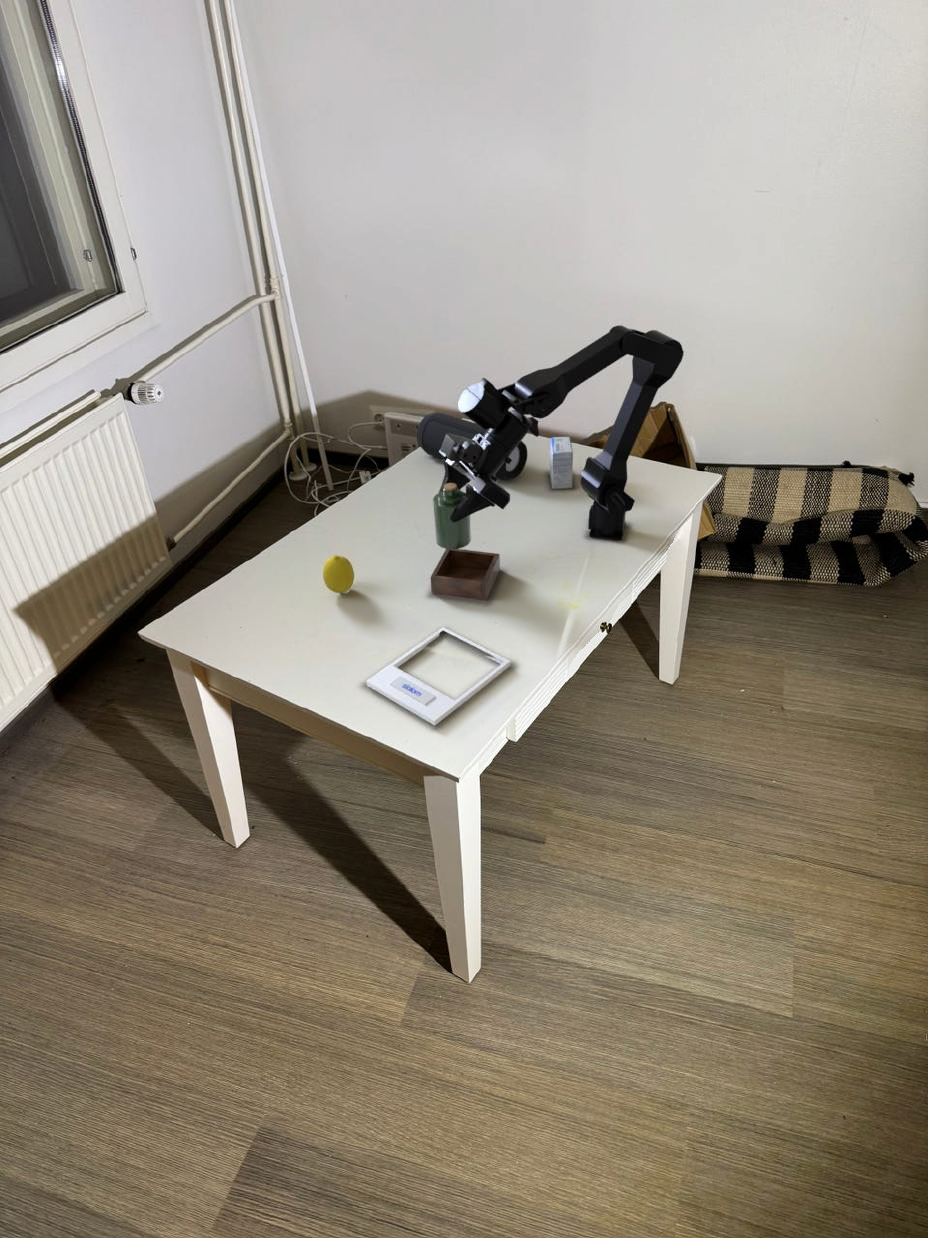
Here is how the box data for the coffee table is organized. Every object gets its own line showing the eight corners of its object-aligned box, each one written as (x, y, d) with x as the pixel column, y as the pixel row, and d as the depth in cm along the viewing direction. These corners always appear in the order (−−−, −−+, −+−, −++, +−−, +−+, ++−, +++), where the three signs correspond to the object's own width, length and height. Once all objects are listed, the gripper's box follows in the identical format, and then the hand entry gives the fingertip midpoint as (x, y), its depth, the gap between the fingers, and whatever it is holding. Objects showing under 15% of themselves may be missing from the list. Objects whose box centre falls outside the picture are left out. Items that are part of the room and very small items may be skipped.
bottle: (476, 534, 160) (474, 480, 154) (462, 551, 156) (459, 497, 149) (444, 528, 163) (441, 474, 156) (430, 545, 158) (425, 491, 151)
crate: (499, 571, 163) (499, 553, 161) (486, 602, 155) (485, 584, 153) (447, 565, 166) (446, 547, 163) (431, 595, 158) (430, 577, 155)
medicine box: (572, 489, 188) (573, 452, 183) (551, 489, 188) (552, 452, 183) (569, 472, 194) (570, 436, 189) (549, 472, 195) (549, 436, 189)
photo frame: (366, 680, 138) (442, 626, 148) (366, 685, 138) (443, 631, 149) (434, 720, 130) (510, 660, 140) (434, 725, 130) (510, 665, 141)
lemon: (351, 603, 157) (346, 565, 152) (321, 600, 158) (315, 563, 153) (360, 585, 161) (355, 548, 156) (331, 583, 162) (326, 546, 157)
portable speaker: (415, 459, 202) (412, 418, 196) (443, 443, 208) (441, 404, 202) (502, 489, 189) (502, 447, 183) (529, 472, 195) (530, 431, 189)
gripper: (446, 398, 154) (393, 469, 157) (492, 439, 140) (432, 515, 143) (488, 430, 161) (436, 497, 164) (535, 472, 147) (478, 544, 150)
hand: (444, 512), depth 155 cm, fingers closed on bottle, 6 cm apart
